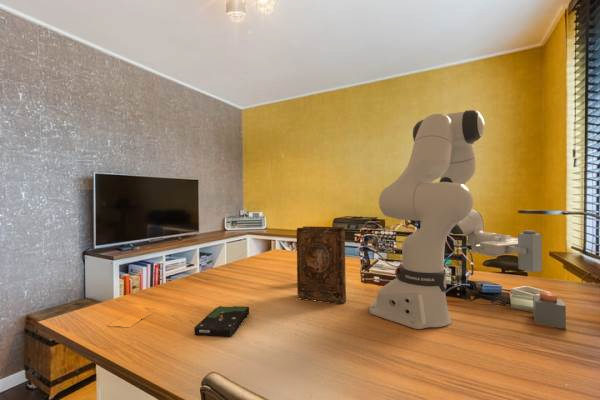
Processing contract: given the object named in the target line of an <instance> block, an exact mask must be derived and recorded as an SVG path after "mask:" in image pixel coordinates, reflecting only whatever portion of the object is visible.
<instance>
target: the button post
mask: <svg viewBox="0 0 600 400" xmlns="http://www.w3.org/2000/svg"><path fill="white" fill-rule="evenodd" d="M566 309H567V307H566V304H565V303H564V301H563V300H562V298H558V297H557V301H554V302H547V301H543V299H541V298H540V296H538V295H536V294H535V295H533V312H532V313H533V315H532V316H533V319H534V322H535V324H537V325H544V326H548V327H553V328H558V329H564V330H567V313H566V312H567V310H566Z"/></svg>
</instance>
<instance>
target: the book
mask: <svg viewBox="0 0 600 400" xmlns="http://www.w3.org/2000/svg"><path fill="white" fill-rule="evenodd" d="M296 272H297V273H296V279H297V280H296V281H297V282H296V283H297V286H296V287H297V291H296V292H297V297H298V299H299V298H301V299H300V300H303V299H308V300H307V301H309V300H316V301H315V302H317V301H322V302H321V303H325V302H329V303H328V304H332V303H336V304H335V305H340V304H341V305H344V304H346V302H347V290H346V289H347V287H346V286H347V283H346V277H347V276H346V229H345V227H344V226H309V225H305V226H302V227H297V228H296Z"/></svg>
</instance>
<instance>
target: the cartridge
mask: <svg viewBox="0 0 600 400" xmlns="http://www.w3.org/2000/svg"><path fill="white" fill-rule="evenodd" d="M522 231H523V232H521V233H520V232H519V233H517V238H518V247H519V248H527V249H528V253H527V254H521V253H517V254H518V255H517V256H518V257H517V259H518V261H517V262H518V265H517V266H518V267H517V268H518V270H521V271H526V272H531V273H535V272H542V271H543V253H542V252H543V251H542V250H543V247H542V246H543V245H542V243H543V242H542V241H543V240H542V238H543V237H542V234H541V233H537V231H536V230H533V229H532V230H530V229H529V230H528V229H526V230H525V229H524V230H522Z"/></svg>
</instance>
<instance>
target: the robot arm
mask: <svg viewBox="0 0 600 400" xmlns="http://www.w3.org/2000/svg"><path fill="white" fill-rule="evenodd" d="M484 120H485V119H484V118H483V116H482V114H481V113H480V112H479V111H478V110H475V109H473V110H472V109H470V110H469V109H468V110H465V111H460V112H458V111H457V112H451V113H445V114H443V113H432V114H429V115H427V116H426V117H424V119H421V120H419V121H418V122H416V124H415V125H414V127H413V130H412V138H413V145H412V151H411V154H410V158H409V161H408V164H407V166H406V168H405V169H404V171H403V172H402V173H401V174H400V176H399V177H397V179H396V180H395V181H394V182H392V183H391V184H389V185H388V186H386V187H385V188H383V189H382V190H381V192H380V195H379V198H378V205H379V209H380V211H381V213H382V214H383V215H384V216H385V217H388V218H392V219H396V220H399V221H400V220H401V221H419V222H420V228H419V230H418V231H415V232H413V233H411V234H409V235H407V236H406V237H405V238H404V240H403V241H402V245H401V249H402V250H401V251H402V254H401V256H402V262H401V263H400V264H398V265H397V267H396V268H395V270H394V275H395V276H396V278H394V279H392V280H391V281H389V282H388V283H386V284H385V285H383V286H382V287H380V289H379V290H378V293H377V297H376V299H375V300H374V301H372V303H371V304H370V305H369V307H368V308H369V310H368V312H369V313H370V314H371V315H374V316H377V317H379V318H383V319H385V320H388V321H391V322H394V323H398V324H399V325H400V324H401V325H403V326H407V327H410V328H412V329H415V330H416V329H417V330H421V329H422V330H423V329H426V328H443V327H446V326H448V325H450V324H451V323H452V317H451V314H450V311H449V307H448V302H447V297H446V290H447V274H446V273H447V271H446V269H445V248H446V243H447V242H446V239H447V236H448V234H449V233H453V234H466V235H467V236H468V240H467V243H468V244H470V245H471V246H472V249H471V252H470V253H471V254H473V253H474V254H476V253H477V254H478V255H483V256H487V257H492V258H497V257H499V256H503V255H505V256H506V255H511V254H512V255H513V254H515V255H516V254H518V253H521V254H527V253H528V249H527V248H519V247H518V237H513V236H511V235H510V234H500V233H498V232H497V233H496V232H488V231H485V227H484V219H483V216H482V214H481V213H480V212H479V211H478V210H477V209H474V208H473V206H474V198H473V194H472V192H471V190H469V188H468V187H467V186H466V184H467V183H468V182H469V181H470V180H471V179H472V177H473V176H474V175H475V172H476V166H477V165H476V164H477V163H476V162H477V161H476V156H475V155H476V154H475V148H474V145H473V144H474V143H475V142H476V141H479V140H480V138H481V137H482V136H483V134H484V130H485V121H484ZM439 178H440V179H439ZM437 179H439V181H438V182H437V181H436V180H437Z"/></svg>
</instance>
